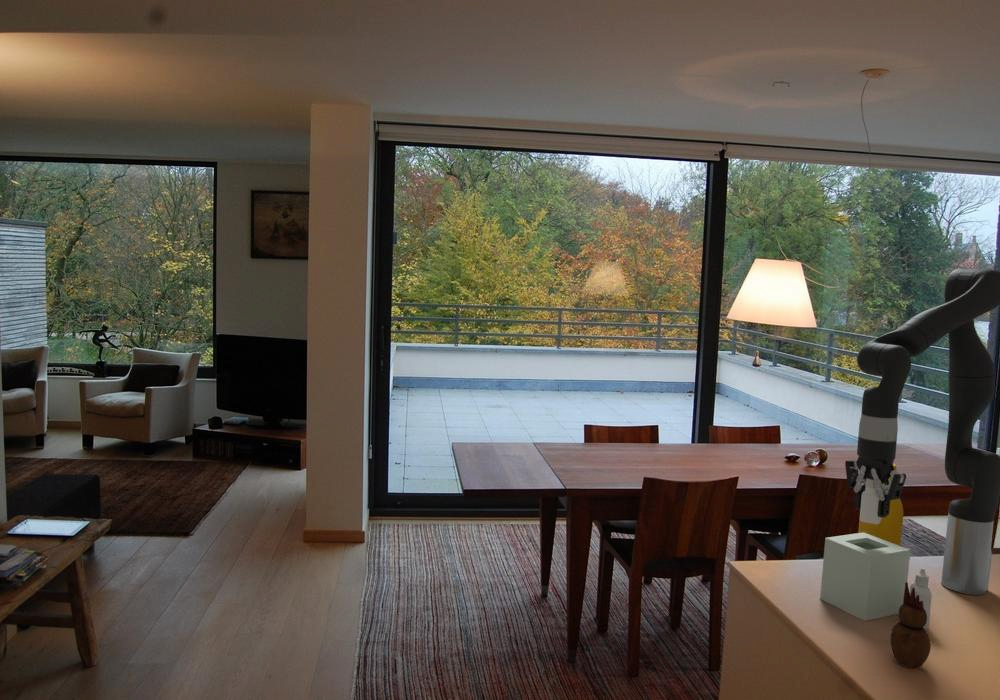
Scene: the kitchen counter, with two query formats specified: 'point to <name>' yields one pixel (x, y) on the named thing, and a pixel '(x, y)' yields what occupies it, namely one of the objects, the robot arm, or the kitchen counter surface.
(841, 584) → the tissue box
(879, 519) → the salt shaker
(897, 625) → the wooden figurine
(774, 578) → the kitchen counter surface
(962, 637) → the kitchen counter surface
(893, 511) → the beer bottle
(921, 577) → the eye dropper bottle
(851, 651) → the kitchen counter surface
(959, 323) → the robot arm
